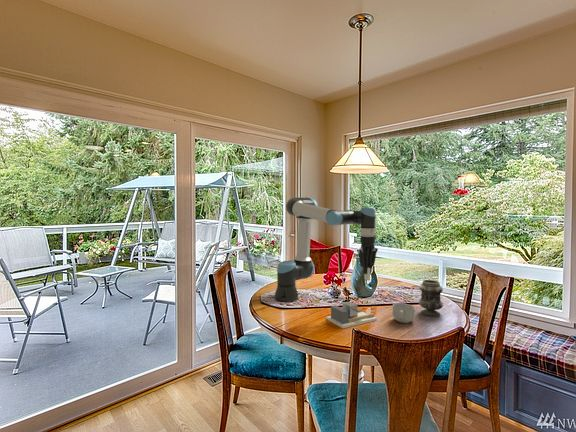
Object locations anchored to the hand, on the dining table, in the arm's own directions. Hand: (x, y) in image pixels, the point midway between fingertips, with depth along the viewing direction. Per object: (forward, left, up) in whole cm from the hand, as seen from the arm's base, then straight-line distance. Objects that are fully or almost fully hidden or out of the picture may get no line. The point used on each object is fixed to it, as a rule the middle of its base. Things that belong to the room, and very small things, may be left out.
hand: (367, 279), depth 165 cm
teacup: (+15, +10, -20) cm, 27 cm away
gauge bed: (0, -11, -20) cm, 23 cm away
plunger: (+2, -12, -18) cm, 22 cm away
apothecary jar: (+14, +33, -20) cm, 41 cm away
